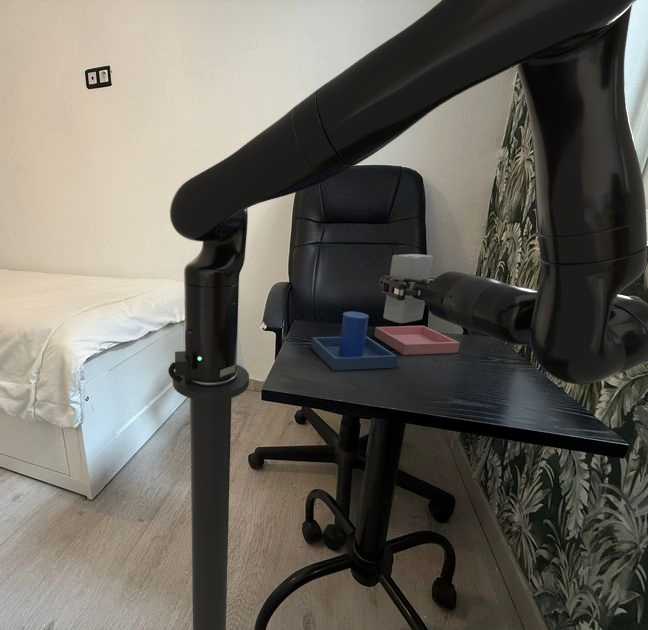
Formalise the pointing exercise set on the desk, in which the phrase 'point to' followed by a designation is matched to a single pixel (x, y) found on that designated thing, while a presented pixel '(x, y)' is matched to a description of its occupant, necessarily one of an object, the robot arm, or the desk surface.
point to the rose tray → (416, 340)
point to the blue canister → (353, 334)
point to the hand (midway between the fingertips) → (401, 280)
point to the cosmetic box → (411, 268)
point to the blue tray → (371, 358)
